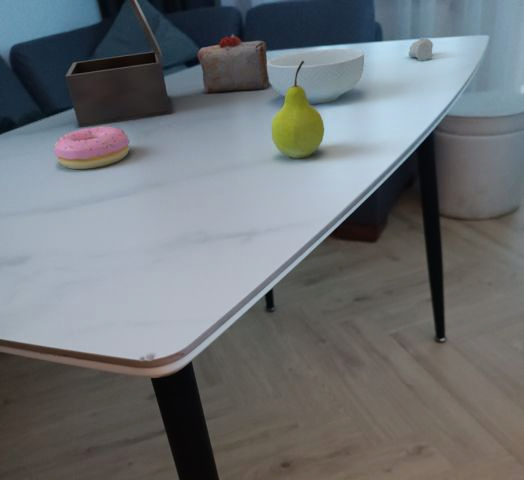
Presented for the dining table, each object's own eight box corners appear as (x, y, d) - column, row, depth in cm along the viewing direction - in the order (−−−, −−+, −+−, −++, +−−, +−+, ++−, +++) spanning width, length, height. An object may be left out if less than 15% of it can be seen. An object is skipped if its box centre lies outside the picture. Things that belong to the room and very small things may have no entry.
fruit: (264, 158, 81) (254, 63, 75) (302, 146, 84) (297, 53, 78) (295, 168, 77) (288, 67, 70) (335, 154, 80) (332, 56, 73)
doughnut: (43, 172, 87) (34, 143, 84) (86, 149, 95) (79, 122, 93) (106, 173, 83) (99, 143, 81) (145, 149, 91) (139, 121, 89)
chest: (79, 129, 107) (65, 76, 102) (85, 110, 120) (72, 62, 115) (171, 115, 108) (161, 62, 103) (167, 98, 121) (158, 50, 116)
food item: (199, 96, 119) (191, 42, 114) (208, 87, 126) (201, 35, 120) (266, 91, 117) (261, 35, 111) (272, 82, 123) (267, 29, 117)
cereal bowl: (382, 91, 106) (383, 48, 102) (326, 115, 97) (324, 68, 93) (308, 86, 117) (306, 46, 113) (251, 107, 107) (246, 64, 103)
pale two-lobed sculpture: (411, 62, 132) (435, 52, 130) (410, 68, 126) (434, 58, 123) (406, 41, 130) (430, 32, 128) (404, 47, 124) (429, 37, 122)
